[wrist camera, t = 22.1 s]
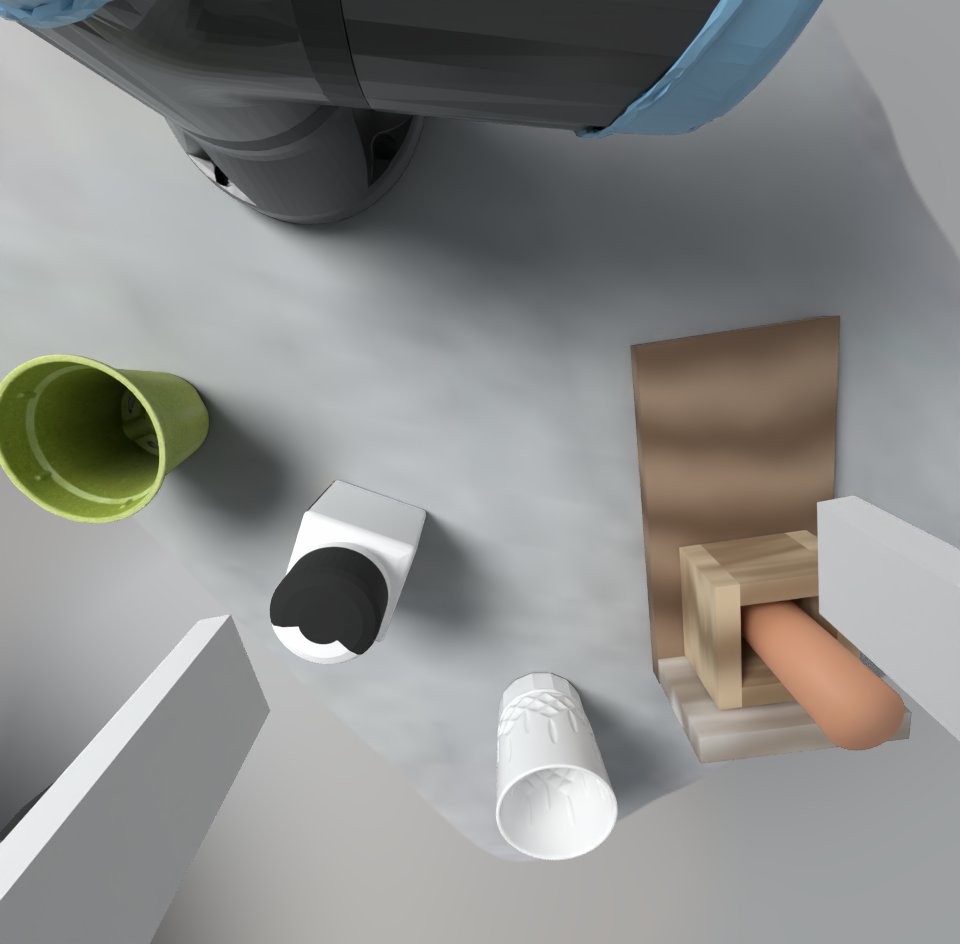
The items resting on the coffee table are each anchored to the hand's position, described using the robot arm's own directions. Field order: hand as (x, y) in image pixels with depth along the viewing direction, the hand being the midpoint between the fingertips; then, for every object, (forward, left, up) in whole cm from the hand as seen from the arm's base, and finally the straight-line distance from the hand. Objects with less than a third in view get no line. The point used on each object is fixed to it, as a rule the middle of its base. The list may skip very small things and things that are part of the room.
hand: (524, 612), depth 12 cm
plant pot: (-3, -23, -26) cm, 35 cm away
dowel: (+16, +16, -25) cm, 33 cm away
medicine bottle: (+8, -11, -26) cm, 29 cm away
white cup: (+25, 0, -26) cm, 36 cm away
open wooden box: (+16, +16, -25) cm, 33 cm away
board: (+10, +16, -26) cm, 32 cm away
